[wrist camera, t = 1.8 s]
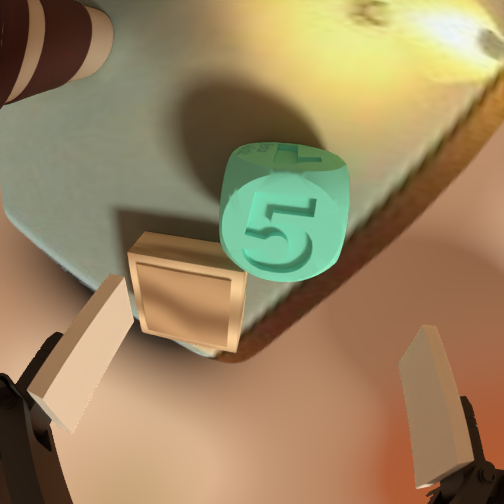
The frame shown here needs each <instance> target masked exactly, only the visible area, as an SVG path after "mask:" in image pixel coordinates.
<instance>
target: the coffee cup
mask: <svg viewBox="0 0 504 504" xmlns="http://www.w3.org/2000/svg"><path fill="white" fill-rule="evenodd" d="M113 38H114V30H113V25H112V23H111V20H110V19H109V17H108V16H107V15H106V14H105V13H103V12H102V11H100V10H97V9H94V8H90V7H87V6H83V5H82V4H81V3H79V2H77V1H74V0H0V109H1V108H2V106H3V105H6V104H11V103H14V102H17V101H19V100H22V99H24V98H27V97H30V96H33V95H36V94H39V93H42V92H45V91H48V90H51V89H54V88H57V87H60V86H62V85H64V84H65V83H67V82H71V81H75V80H78V79H82V78H85V77H88V76H90V75H91V74H93V73H95V72H96V71H97V70H98V69H99V68H100V67H101V66H102V65H103V63H104V62H105V61H106V59H107V57H108V55H109V53H110V51H111V48H112V44H113Z"/></svg>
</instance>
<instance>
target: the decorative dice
mask: <svg viewBox="0 0 504 504" xmlns="http://www.w3.org/2000/svg"><path fill="white" fill-rule="evenodd" d="M349 200H350V179H349V171H348V167H347V165H346V163H345V162H344V161H343V160H342V159H341V158H340V157H339V156H337V155H335V154H333V153H331V152H328V151H325V150H322V149H319V148H315V147H311V146H306V145H300V144H293V143H283V142H260V143H251V144H246V145H243V146H240V147H238V148H237V149H236V150H234V151H233V152H232V154H231V155H230V157H229V160H228V163H227V166H226V170H225V174H224V179H223V185H222V191H221V200H220V213H219V233H220V242H221V247H222V249H223V251H224V252H225V253H226V254H227V256H228V257H229V258H230V259H231V260H232V261H233V262H234V263H235V264H236V265H238V266H239V267H240V268H242V269H243V270H245V271H246V272H248V273H250V274H252V275H254V276H256V277H259V278H262V279H266V280H271V281H278V282H294V281H301V280H305V279H308V278H311V277H314V276H316V275H318V274H320V273H322V272H324V271H325V270H327V269H328V268H330V267H331V266H332V265H333V264H335V263H336V261H337V259H338V257H339V255H340V252H341V249H342V245H343V241H344V237H345V232H346V227H347V220H348V212H349Z"/></svg>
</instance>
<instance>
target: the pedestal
mask: <svg viewBox="0 0 504 504" xmlns="http://www.w3.org/2000/svg"><path fill="white" fill-rule="evenodd" d="M127 253H128V260H129V266H130V272H131V278H132V284H133V289H134V294H135V300H136V305H137V310H138V314H139V319H140V323H141V328H142V332H145V333H148V334H152V335H156V336H161V337H165V338H169V339H173V340H177V341H182V342H186V343H191V344H195V345H200V346H205V347H210V348H215V349H220V350H225V351H230V352H236V350H237V346H238V342H239V338H240V333H241V329H242V322H243V313H244V304H245V295H246V286H247V277H248V272H246V271H245V270H243V269H242V268H240V267H239V266H238V265H236V264H235V263H234V262H233V261H232V260H231V259H230V258H229V257H228V256H227V254H226V253H225V252H224V251H223V249H222V247H221V243H217V242H210V241H204V240H197V239H191V238H185V237H178V236H172V235H165V234H159V233H152V232H146V231H145V232H144V233H143V234H142V235H141V236H140V238H139V239H138V240H137V241H136V242H135V244H134V245H133V246H132V247H131V248H130V249H129V251H128V252H127Z"/></svg>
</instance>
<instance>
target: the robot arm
mask: <svg viewBox="0 0 504 504" xmlns="http://www.w3.org/2000/svg"><path fill="white" fill-rule="evenodd" d="M133 322H134V320H133V315H132V311H131V306H130V302H129V297H128V292H127V287H126V281H125V277H123V276H119V275H114V274H110V275H109V276H108V277H107V278H106V279H105V281H104V282H103V283H102V284H101V286H100V287H99V288H98V290H97V291H96V292H95V293H94V295H93V296H92V297H91V298H90V300H89V301H88V302H87V304H86V305H85V306H84V308H83V309H82V310H81V312H80V313H79V314H78V316H77V317H76V318H75V320H74V321H73V322H72V324H71V325H70V327H69V328H68V329H67V331H66V332H65V333H64V334H62V333H60V332H55V333H54V334H53V335H51V336H50V337H49V338H47V339H46V341H45V342H44V344H43V345H42V346H41V349H40V350H39V351H38V352H37V353H36V355H35V357H34V358H33V359H32V361H31V362H30V363H29V365H28V366H27V368H26V369H25V371H24V372H23V374H22V375H21V377H20V378H19V380H18V382H17V383H16V384H14V383H13V381H12V380H11V379H10V377H9V376H8V375H6V374H4V373H0V504H73V502H72V499H71V496H70V494H69V491H68V488H67V485H66V482H65V479H64V476H63V472H62V469H61V466H60V462H59V458H58V455H57V451H56V447H55V443H54V439H53V435H52V430H51V427H50V423H51V421H53V422H54V423H55V424H56V425H57V426H58V427H59V428H61V429H63V430H65V431H67V432H69V433H71V434H73V433H74V431H75V429H76V427H77V425H78V422H79V421H80V419H81V417H82V414H83V413H84V411H85V409H86V407H87V405H88V403H89V401H90V399H91V397H92V395H93V393H94V391H95V390H96V388H97V386H98V384H99V382H100V380H101V378H102V376H103V375H104V373H105V371H106V369H107V367H108V365H109V364H110V362H111V360H112V358H113V357H114V355H115V353H116V351H117V349H118V347H119V346H120V344H121V342H122V341H123V339H124V337H125V335H126V334H127V332H128V330H129V328H130V327H131V325H132V323H133ZM398 366H399V371H400V376H401V381H402V386H403V392H404V398H405V403H406V409H407V416H408V422H409V429H410V436H411V444H412V453H413V462H414V473H415V485H416V489H417V488H422V487H429V486H432V485H434V484H436V483H438V482H440V487H438V488H436V489H434V490H432V491H430V492H429V493H428V494H427V495H426V496H427V497H428V496H430V495H432V494H434V495H433V496H432V497H431V498H430V501H429V502H428V504H504V470H499V469H495V467H494V465H493V464H492V463H491V462H488V461H486V460H485V457H484V454H483V449H482V444H481V440H480V435H479V431H478V428H477V423H476V419H475V418H474V417H475V415H474V411H473V408H472V405H471V404H470V402H469V401H468V399H467V397H466V396H461V397H459V393H458V390H457V386H456V383H455V380H454V376H453V373H452V370H451V367H450V364H449V361H448V358H447V355H446V352H445V349H444V346H443V344H442V341H441V338H440V336H439V333H438V330H437V327H436V326H431V325H422V326H421V328H420V330H419V331H418V333H417V335H416V337H415V338H414V340H413V341H412V343H411V344H410V346H409V348H408V349H407V351H406V352H405V354H404V355H403V357H402V359H401V360H400V361H399V363H398Z"/></svg>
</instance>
